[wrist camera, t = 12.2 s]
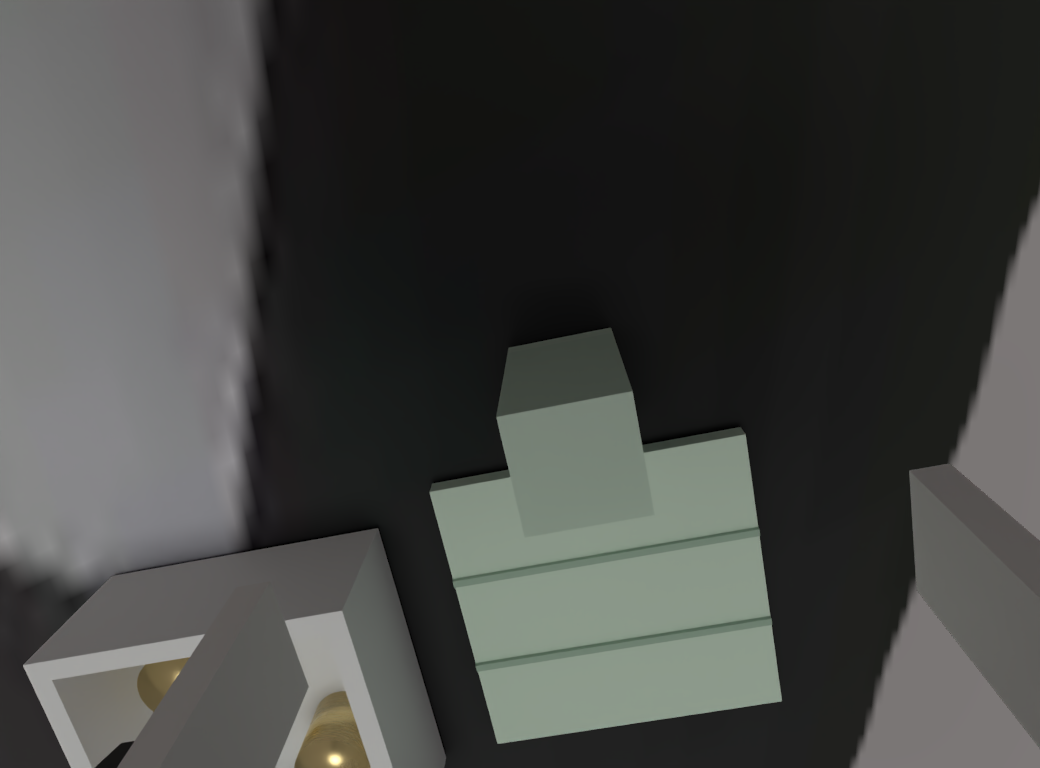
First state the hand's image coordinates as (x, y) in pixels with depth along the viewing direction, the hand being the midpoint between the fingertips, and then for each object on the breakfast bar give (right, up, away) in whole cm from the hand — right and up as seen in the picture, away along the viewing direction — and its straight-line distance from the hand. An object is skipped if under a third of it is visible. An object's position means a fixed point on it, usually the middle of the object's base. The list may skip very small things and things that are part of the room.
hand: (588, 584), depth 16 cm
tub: (-12, -9, +19) cm, 24 cm away
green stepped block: (+2, -2, +17) cm, 17 cm away
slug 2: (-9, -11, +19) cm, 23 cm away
